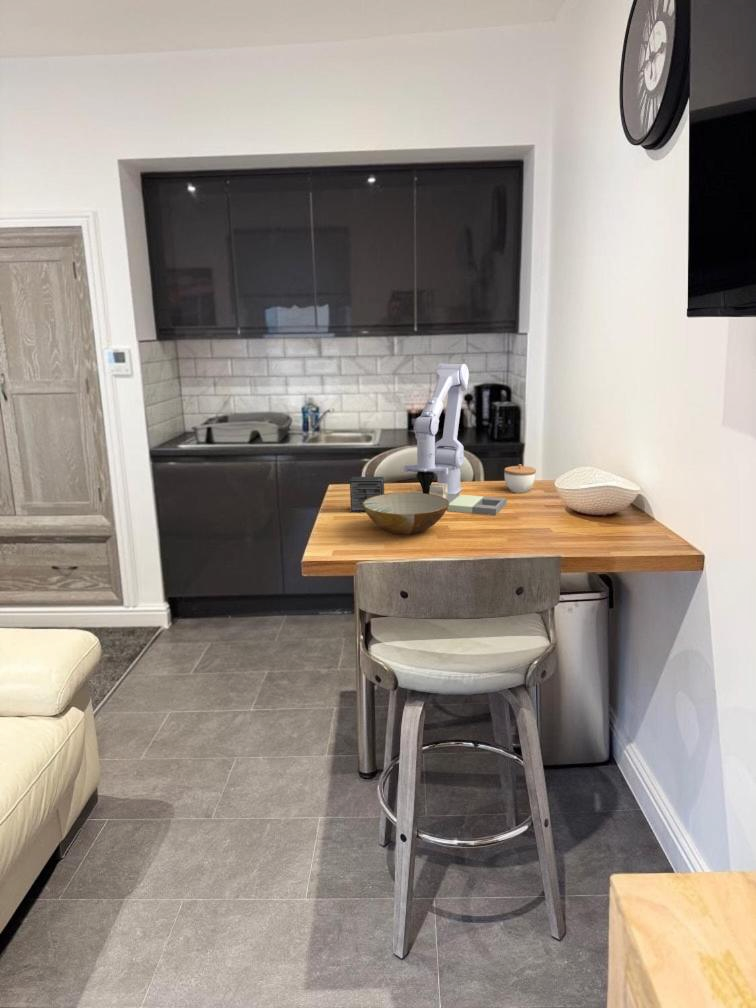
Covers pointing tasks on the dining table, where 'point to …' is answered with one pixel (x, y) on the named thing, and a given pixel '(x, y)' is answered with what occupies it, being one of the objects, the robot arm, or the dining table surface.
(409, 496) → the bowl
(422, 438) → the robot arm
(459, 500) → the plate
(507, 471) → the lidded jar
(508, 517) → the dining table surface
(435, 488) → the block
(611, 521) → the dining table surface
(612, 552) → the dining table surface
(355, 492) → the small box
